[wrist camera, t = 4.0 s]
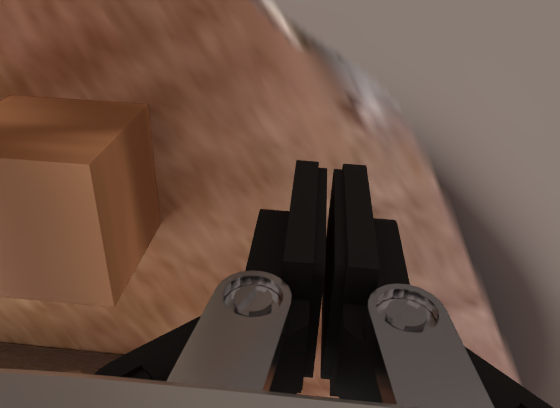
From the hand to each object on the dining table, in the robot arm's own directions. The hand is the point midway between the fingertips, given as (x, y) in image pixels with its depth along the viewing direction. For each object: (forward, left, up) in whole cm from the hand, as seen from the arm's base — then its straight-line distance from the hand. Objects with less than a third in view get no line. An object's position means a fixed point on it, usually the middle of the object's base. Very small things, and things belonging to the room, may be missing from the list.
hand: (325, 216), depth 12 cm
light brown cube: (+7, 0, -3) cm, 8 cm away
